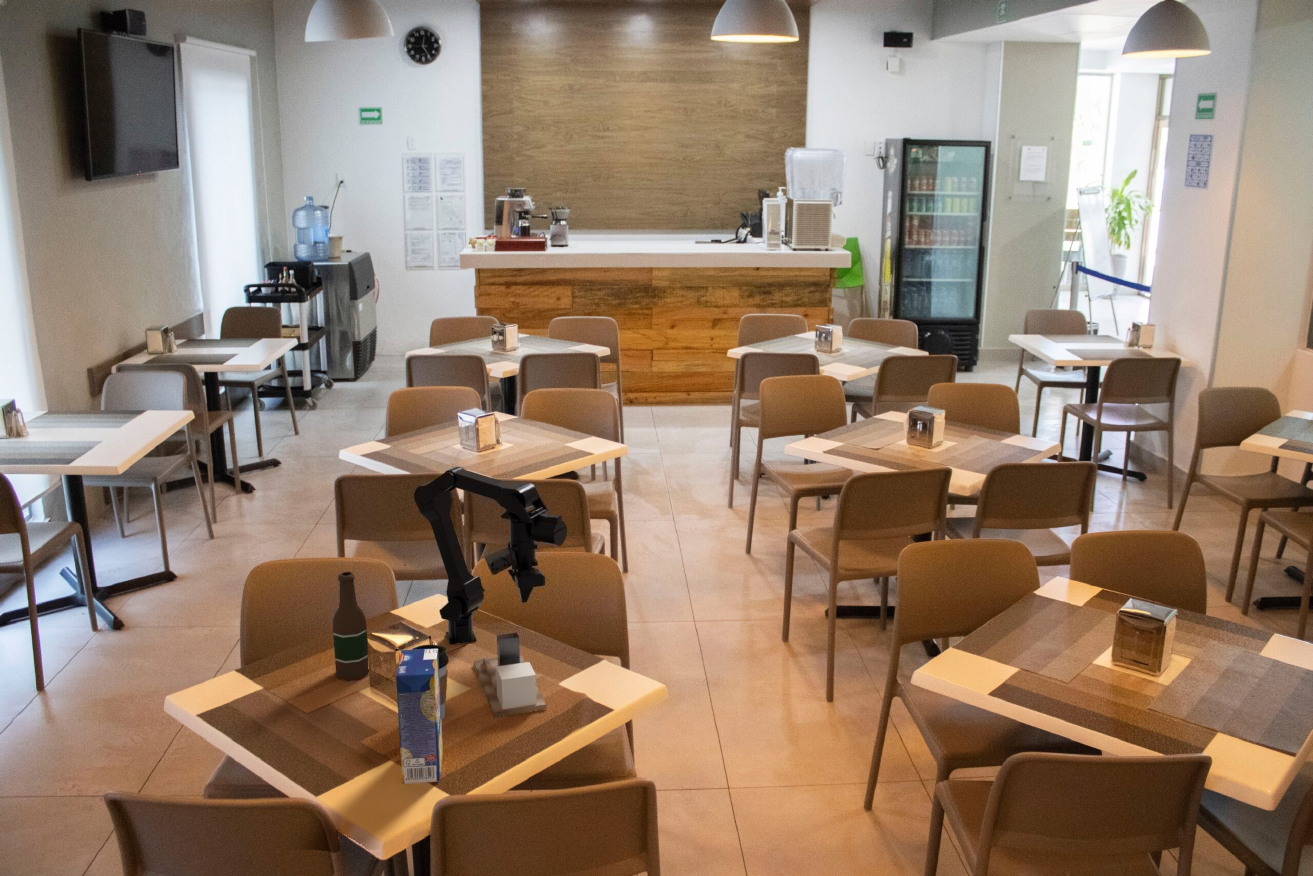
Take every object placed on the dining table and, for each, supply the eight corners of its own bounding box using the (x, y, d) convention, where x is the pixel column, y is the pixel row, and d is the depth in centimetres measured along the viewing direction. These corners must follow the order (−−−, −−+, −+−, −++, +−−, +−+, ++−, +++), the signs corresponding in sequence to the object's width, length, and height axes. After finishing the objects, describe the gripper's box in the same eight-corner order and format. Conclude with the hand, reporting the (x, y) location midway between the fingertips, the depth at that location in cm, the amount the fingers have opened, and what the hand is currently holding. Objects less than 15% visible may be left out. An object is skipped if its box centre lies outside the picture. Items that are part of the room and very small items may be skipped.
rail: (474, 665, 253) (473, 655, 253) (521, 659, 257) (521, 648, 256) (494, 717, 230) (494, 706, 230) (546, 709, 234) (546, 698, 233)
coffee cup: (429, 731, 225) (425, 663, 221) (401, 718, 230) (397, 652, 226) (459, 714, 231) (456, 649, 228) (432, 702, 236) (429, 638, 233)
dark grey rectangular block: (498, 681, 243) (496, 635, 240) (518, 678, 244) (516, 632, 241) (506, 701, 234) (505, 653, 231) (527, 698, 235) (526, 651, 233)
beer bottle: (375, 666, 253) (369, 567, 246) (363, 682, 245) (356, 581, 239) (342, 664, 253) (335, 566, 247) (329, 680, 246) (322, 579, 240)
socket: (497, 695, 237) (496, 666, 235) (530, 690, 239) (529, 661, 238) (502, 709, 231) (501, 679, 230) (536, 704, 234) (535, 674, 232)
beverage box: (442, 750, 218) (437, 648, 212) (439, 781, 207) (434, 674, 202) (407, 753, 217) (401, 649, 211) (402, 784, 206) (395, 676, 201)
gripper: (480, 528, 258) (482, 591, 262) (495, 556, 241) (497, 622, 245) (527, 524, 262) (528, 585, 266) (545, 550, 245) (546, 616, 249)
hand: (524, 602), depth 256 cm, fingers closed
